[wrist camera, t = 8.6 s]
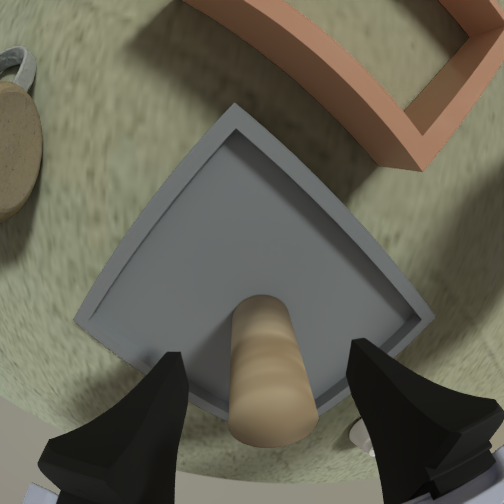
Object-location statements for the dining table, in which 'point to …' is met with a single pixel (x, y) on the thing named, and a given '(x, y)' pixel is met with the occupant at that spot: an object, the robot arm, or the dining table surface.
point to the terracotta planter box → (364, 85)
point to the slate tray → (248, 268)
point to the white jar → (361, 437)
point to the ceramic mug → (18, 133)
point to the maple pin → (268, 377)
